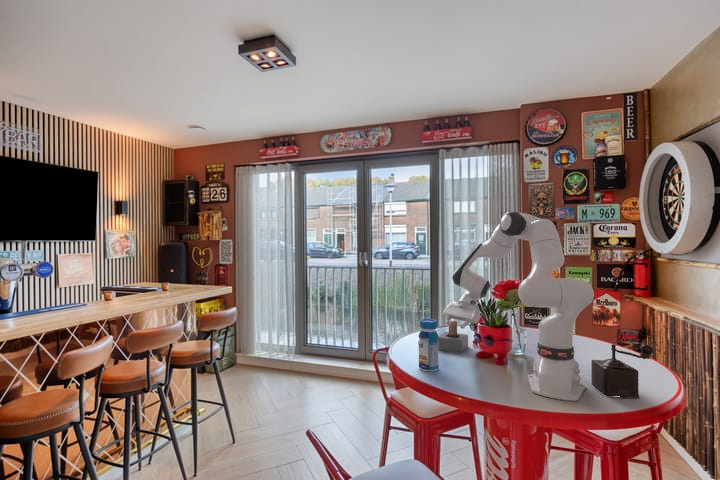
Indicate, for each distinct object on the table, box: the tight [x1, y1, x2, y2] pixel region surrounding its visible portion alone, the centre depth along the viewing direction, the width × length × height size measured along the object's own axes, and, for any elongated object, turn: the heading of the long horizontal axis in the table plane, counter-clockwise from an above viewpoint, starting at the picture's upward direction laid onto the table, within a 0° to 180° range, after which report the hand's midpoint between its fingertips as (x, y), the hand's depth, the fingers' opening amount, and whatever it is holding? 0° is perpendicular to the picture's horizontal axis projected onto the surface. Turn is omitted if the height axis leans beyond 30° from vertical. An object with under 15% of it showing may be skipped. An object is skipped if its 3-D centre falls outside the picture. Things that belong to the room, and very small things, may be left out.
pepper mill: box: [590, 343, 655, 398], centre depth 123 cm, size 16×11×18 cm
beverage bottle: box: [417, 318, 440, 373], centre depth 147 cm, size 8×8×20 cm
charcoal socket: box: [438, 331, 469, 354], centre depth 175 cm, size 12×12×6 cm
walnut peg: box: [448, 320, 458, 338], centre depth 175 cm, size 4×4×12 cm
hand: (454, 325), depth 175 cm, fingers open, 8 cm apart
